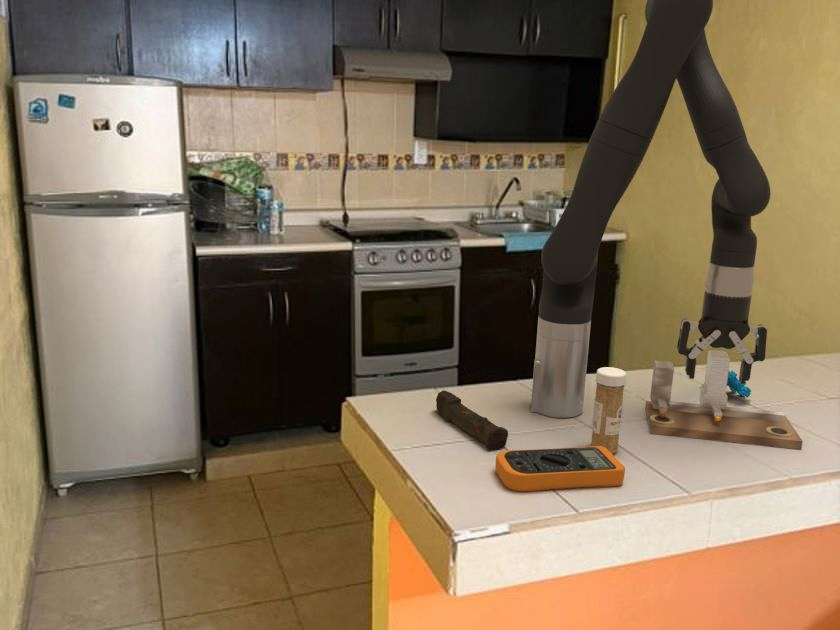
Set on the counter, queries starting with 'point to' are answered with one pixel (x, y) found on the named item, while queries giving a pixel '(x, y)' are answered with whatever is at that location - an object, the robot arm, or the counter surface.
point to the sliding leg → (715, 383)
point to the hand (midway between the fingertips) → (716, 380)
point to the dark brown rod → (470, 421)
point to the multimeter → (559, 468)
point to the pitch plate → (700, 420)
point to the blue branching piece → (736, 385)
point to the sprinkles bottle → (608, 408)
